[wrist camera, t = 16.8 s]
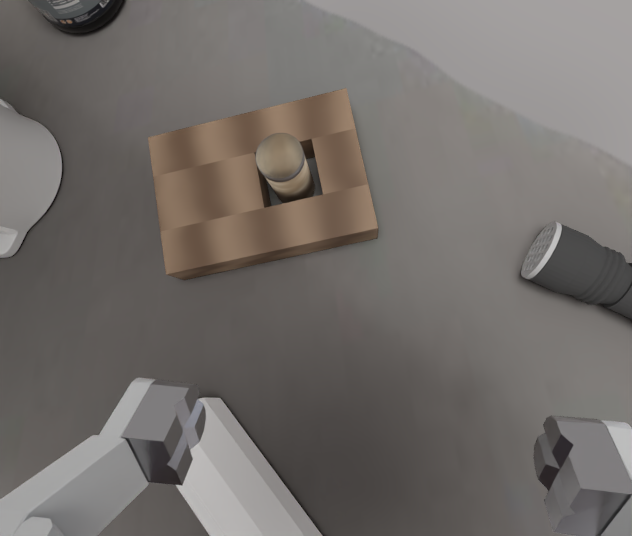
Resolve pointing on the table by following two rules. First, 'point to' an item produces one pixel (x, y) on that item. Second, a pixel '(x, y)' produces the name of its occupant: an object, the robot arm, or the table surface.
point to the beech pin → (285, 167)
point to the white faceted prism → (238, 484)
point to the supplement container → (77, 13)
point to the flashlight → (580, 268)
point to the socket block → (258, 189)
